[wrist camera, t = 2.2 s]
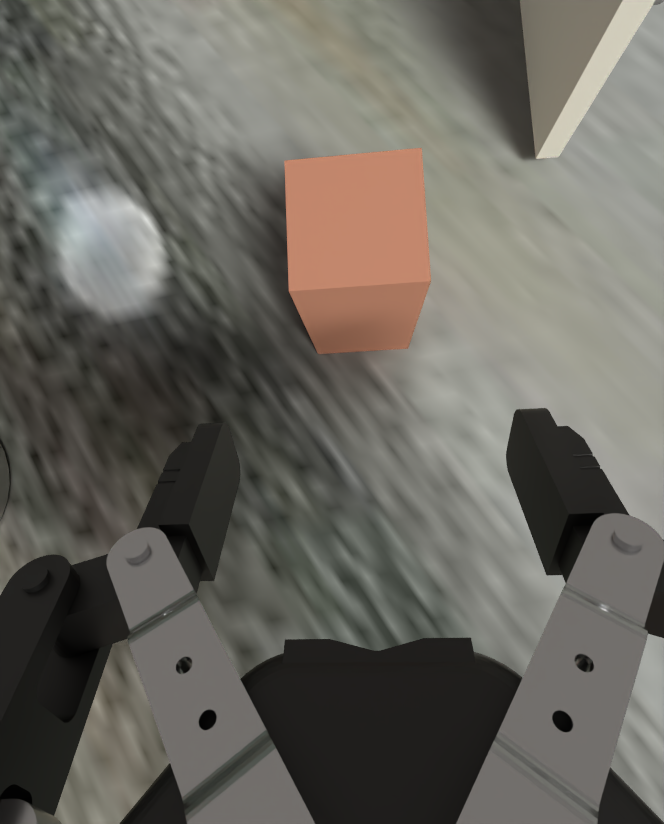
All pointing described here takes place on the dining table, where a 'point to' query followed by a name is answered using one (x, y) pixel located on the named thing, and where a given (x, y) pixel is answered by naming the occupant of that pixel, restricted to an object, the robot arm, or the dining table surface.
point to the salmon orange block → (358, 248)
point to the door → (572, 59)
